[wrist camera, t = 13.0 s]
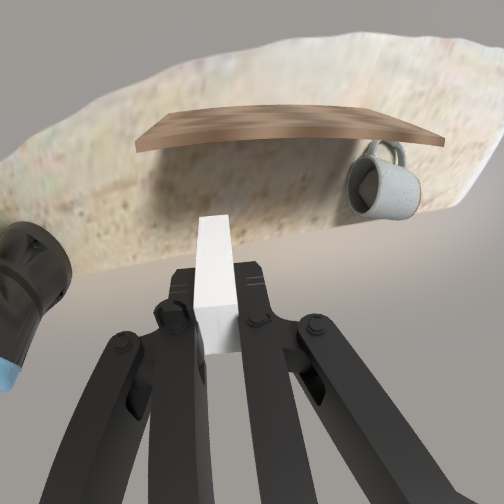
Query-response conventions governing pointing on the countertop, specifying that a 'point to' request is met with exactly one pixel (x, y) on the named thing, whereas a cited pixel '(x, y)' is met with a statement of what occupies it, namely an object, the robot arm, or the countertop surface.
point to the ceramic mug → (383, 186)
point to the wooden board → (279, 126)
